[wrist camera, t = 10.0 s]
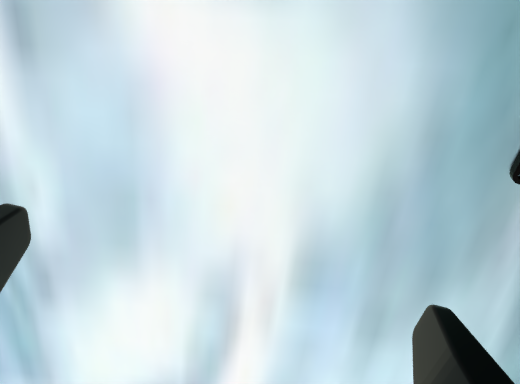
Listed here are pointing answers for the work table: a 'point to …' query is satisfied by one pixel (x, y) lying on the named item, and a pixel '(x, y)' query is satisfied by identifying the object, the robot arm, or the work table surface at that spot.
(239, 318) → the work table surface
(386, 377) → the work table surface
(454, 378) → the robot arm
